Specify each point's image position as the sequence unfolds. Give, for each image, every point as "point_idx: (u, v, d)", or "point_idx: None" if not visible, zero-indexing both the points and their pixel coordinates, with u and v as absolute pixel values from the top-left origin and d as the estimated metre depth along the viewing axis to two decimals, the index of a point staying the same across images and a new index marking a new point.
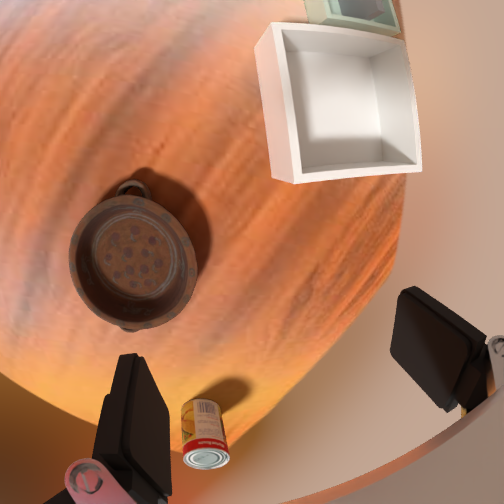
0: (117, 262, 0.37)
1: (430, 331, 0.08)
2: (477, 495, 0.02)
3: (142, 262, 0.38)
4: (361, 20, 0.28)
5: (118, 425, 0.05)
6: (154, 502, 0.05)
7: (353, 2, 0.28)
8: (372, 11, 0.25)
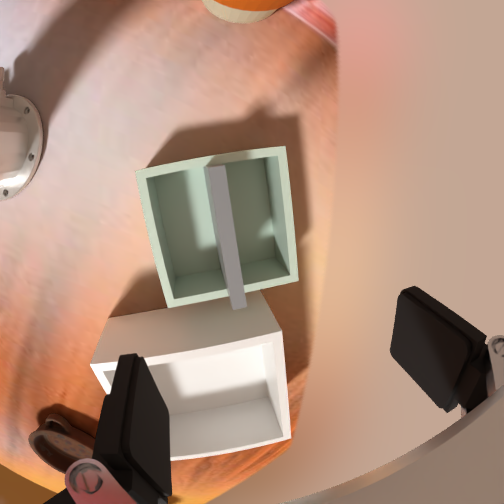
0: (63, 444, 0.37)
1: (430, 331, 0.08)
2: (477, 495, 0.02)
3: (79, 448, 0.37)
4: (223, 292, 0.27)
5: (118, 425, 0.05)
6: (154, 502, 0.05)
7: (218, 248, 0.27)
8: (230, 300, 0.25)
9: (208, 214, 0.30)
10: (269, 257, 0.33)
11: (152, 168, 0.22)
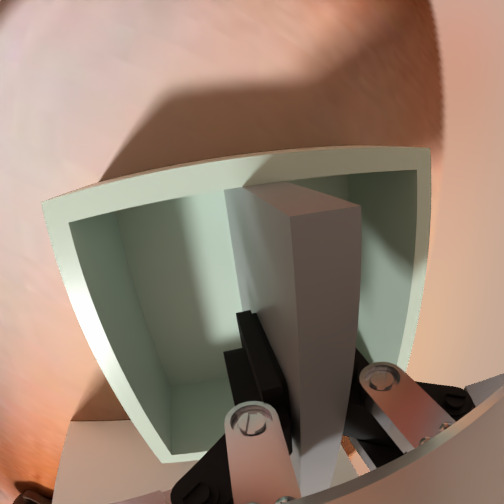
0: None
1: None
2: (477, 495, 0.02)
3: None
4: None
5: (269, 364, 0.07)
6: None
7: None
8: None
9: (231, 281, 0.14)
10: None
11: (83, 193, 0.07)
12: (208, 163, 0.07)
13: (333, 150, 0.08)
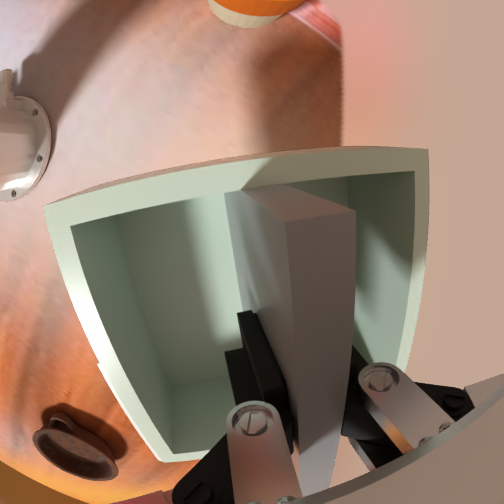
0: (67, 443, 0.38)
1: None
2: (477, 495, 0.02)
3: (83, 447, 0.38)
4: None
5: (270, 364, 0.07)
6: None
7: None
8: None
9: (231, 282, 0.14)
10: None
11: (84, 197, 0.07)
12: (207, 167, 0.08)
13: (331, 153, 0.08)
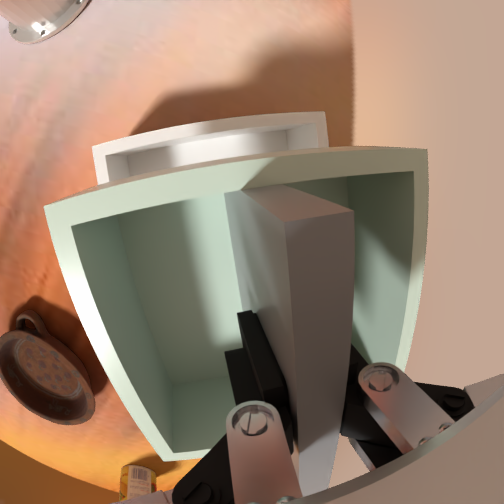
0: (36, 369, 0.32)
1: None
2: (477, 495, 0.02)
3: (55, 373, 0.33)
4: None
5: (270, 364, 0.07)
6: None
7: None
8: None
9: (231, 282, 0.15)
10: None
11: (85, 197, 0.07)
12: (207, 167, 0.08)
13: (330, 153, 0.08)
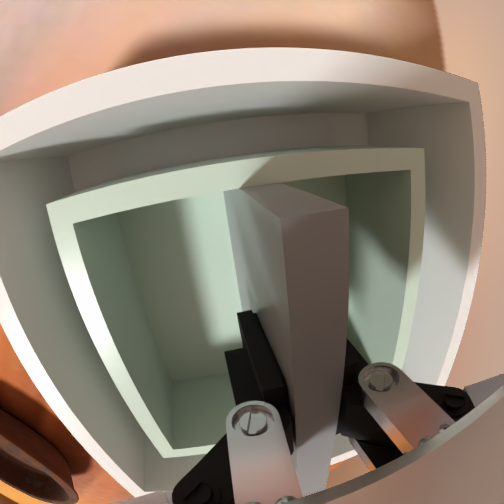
0: (4, 442, 0.18)
1: None
2: (477, 495, 0.02)
3: None
4: None
5: (270, 364, 0.07)
6: None
7: None
8: None
9: (231, 279, 0.15)
10: None
11: (87, 195, 0.07)
12: (206, 166, 0.08)
13: (327, 152, 0.08)
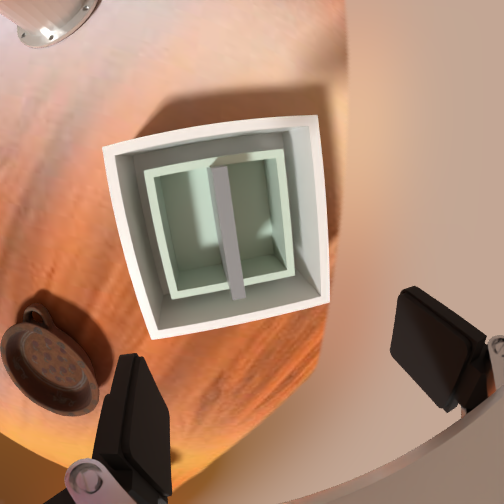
0: (42, 362, 0.34)
1: (430, 331, 0.08)
2: (477, 495, 0.02)
3: (60, 365, 0.35)
4: (224, 285, 0.29)
5: (118, 425, 0.05)
6: (154, 502, 0.05)
7: None
8: (230, 291, 0.26)
9: (210, 212, 0.32)
10: (268, 253, 0.35)
11: (159, 168, 0.24)
12: (198, 160, 0.25)
13: (238, 154, 0.25)
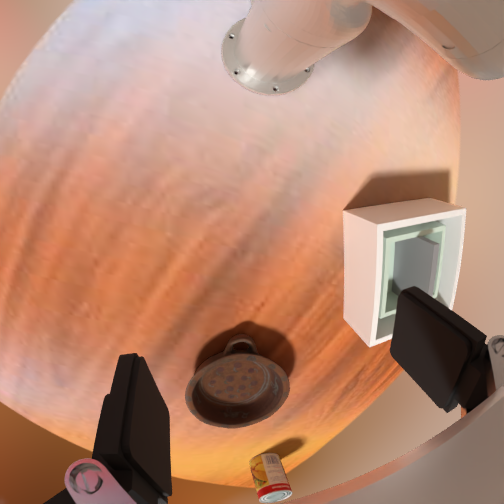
0: (220, 384, 0.47)
1: (430, 331, 0.08)
2: (477, 495, 0.02)
3: (241, 383, 0.47)
4: None
5: (118, 425, 0.05)
6: (154, 502, 0.05)
7: (407, 280, 0.41)
8: None
9: (392, 258, 0.44)
10: None
11: (394, 237, 0.37)
12: (412, 232, 0.37)
13: (428, 229, 0.38)
